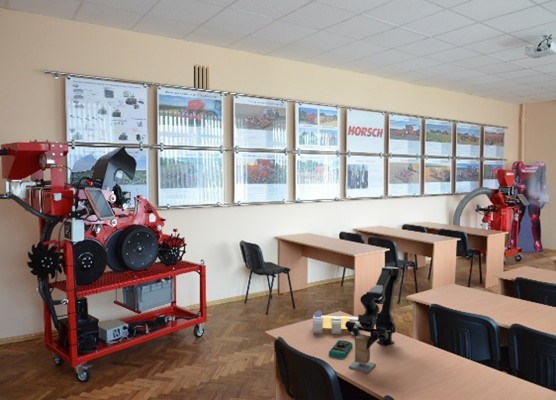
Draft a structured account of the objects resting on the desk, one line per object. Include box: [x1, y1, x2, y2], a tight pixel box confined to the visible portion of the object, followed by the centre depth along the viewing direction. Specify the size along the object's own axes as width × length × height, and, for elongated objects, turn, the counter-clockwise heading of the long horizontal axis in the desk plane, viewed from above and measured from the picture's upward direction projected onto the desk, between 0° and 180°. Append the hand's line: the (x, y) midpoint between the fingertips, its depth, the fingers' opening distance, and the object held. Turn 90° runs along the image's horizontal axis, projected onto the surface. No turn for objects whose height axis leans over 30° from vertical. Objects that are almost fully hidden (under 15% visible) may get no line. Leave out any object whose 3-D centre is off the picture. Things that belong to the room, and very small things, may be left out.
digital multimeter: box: [328, 339, 353, 359], centre depth 204 cm, size 8×16×3 cm, turn 154°
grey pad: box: [348, 360, 376, 374], centre depth 188 cm, size 9×9×1 cm
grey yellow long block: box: [312, 309, 361, 336], centre depth 229 cm, size 25×10×13 cm, turn 83°
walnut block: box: [354, 333, 371, 364], centre depth 187 cm, size 5×5×11 cm
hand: (361, 347), depth 186 cm, fingers closed on walnut block, 5 cm apart
